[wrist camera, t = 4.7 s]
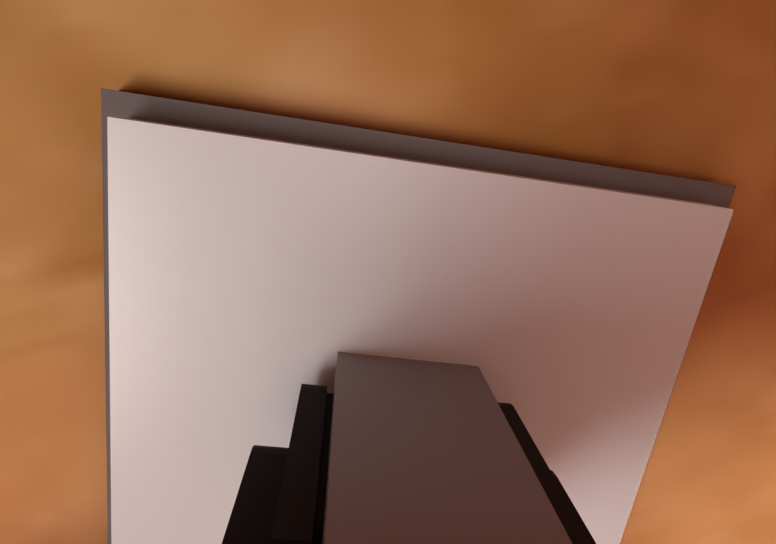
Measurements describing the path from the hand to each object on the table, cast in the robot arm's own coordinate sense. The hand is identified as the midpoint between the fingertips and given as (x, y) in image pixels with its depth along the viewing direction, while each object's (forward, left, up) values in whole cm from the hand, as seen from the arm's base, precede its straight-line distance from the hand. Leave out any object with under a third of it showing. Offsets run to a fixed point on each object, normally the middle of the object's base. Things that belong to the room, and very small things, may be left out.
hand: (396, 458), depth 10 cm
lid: (0, 0, -1) cm, 1 cm away
